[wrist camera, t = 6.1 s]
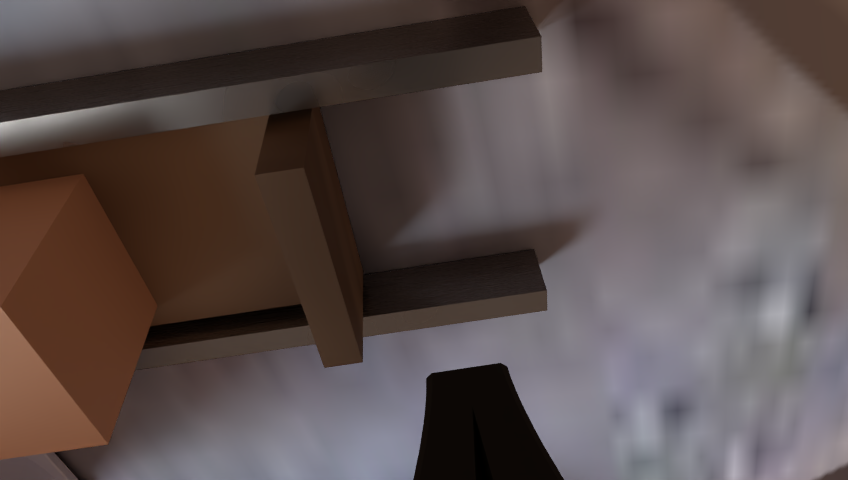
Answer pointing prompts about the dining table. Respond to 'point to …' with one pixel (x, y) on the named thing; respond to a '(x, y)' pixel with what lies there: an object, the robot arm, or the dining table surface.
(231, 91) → the lane rails
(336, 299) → the brown boxy piece
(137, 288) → the block
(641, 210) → the dining table surface
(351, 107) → the dining table surface
